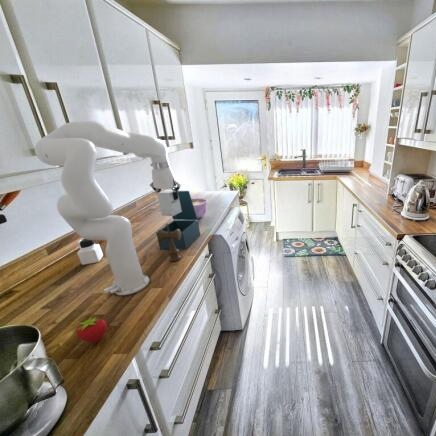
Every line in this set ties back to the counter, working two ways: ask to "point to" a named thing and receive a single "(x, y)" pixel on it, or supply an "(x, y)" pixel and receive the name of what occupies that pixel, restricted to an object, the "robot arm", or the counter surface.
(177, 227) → the teal rectangular box
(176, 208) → the white packaging box
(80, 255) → the medicine bottle
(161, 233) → the kendama
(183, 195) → the dark teal box lid
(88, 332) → the strawberry
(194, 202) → the bowl of food
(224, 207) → the counter surface
